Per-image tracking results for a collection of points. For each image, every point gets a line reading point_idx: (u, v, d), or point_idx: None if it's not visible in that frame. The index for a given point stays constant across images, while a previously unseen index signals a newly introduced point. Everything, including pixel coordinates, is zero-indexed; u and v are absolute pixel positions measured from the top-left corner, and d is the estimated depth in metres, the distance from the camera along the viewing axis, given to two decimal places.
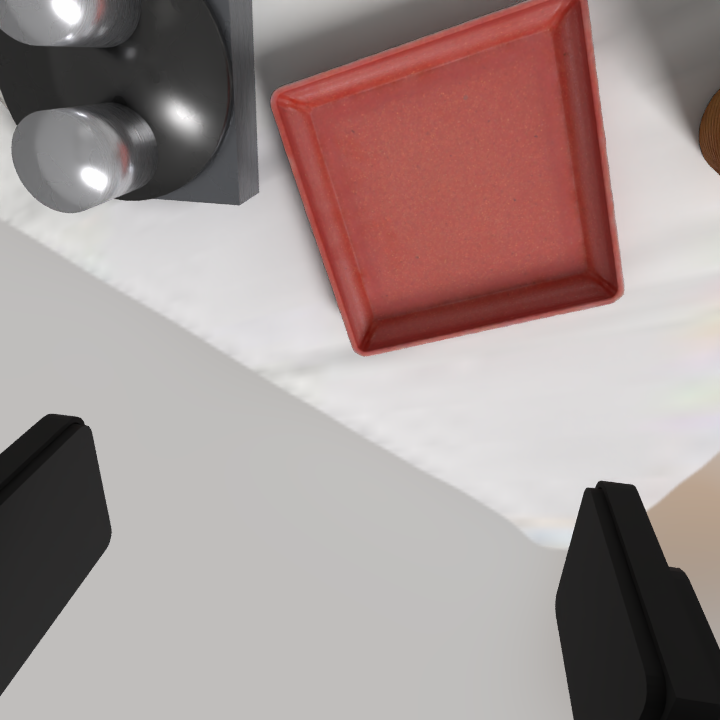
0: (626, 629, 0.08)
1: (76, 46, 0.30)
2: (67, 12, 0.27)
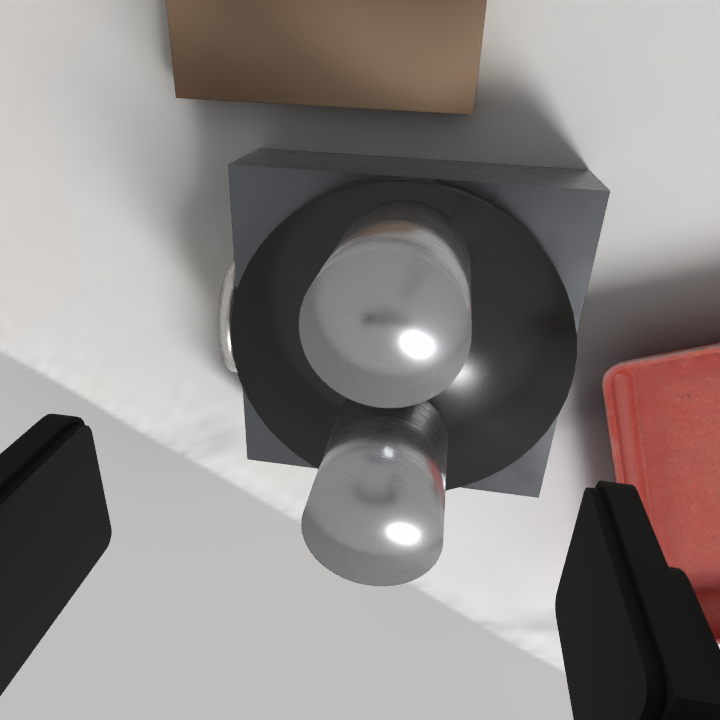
0: (626, 629, 0.08)
1: None
2: (442, 374, 0.17)
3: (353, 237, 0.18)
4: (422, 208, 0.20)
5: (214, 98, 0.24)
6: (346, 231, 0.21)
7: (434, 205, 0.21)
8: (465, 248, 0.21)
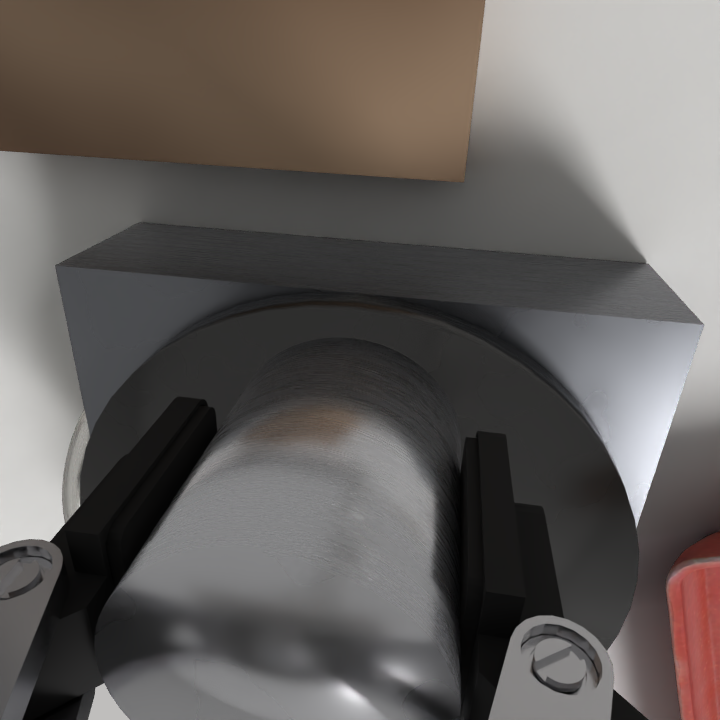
0: (466, 546, 0.09)
1: None
2: None
3: (223, 458, 0.09)
4: (373, 362, 0.11)
5: (49, 151, 0.15)
6: (241, 395, 0.12)
7: (396, 348, 0.12)
8: (450, 431, 0.12)
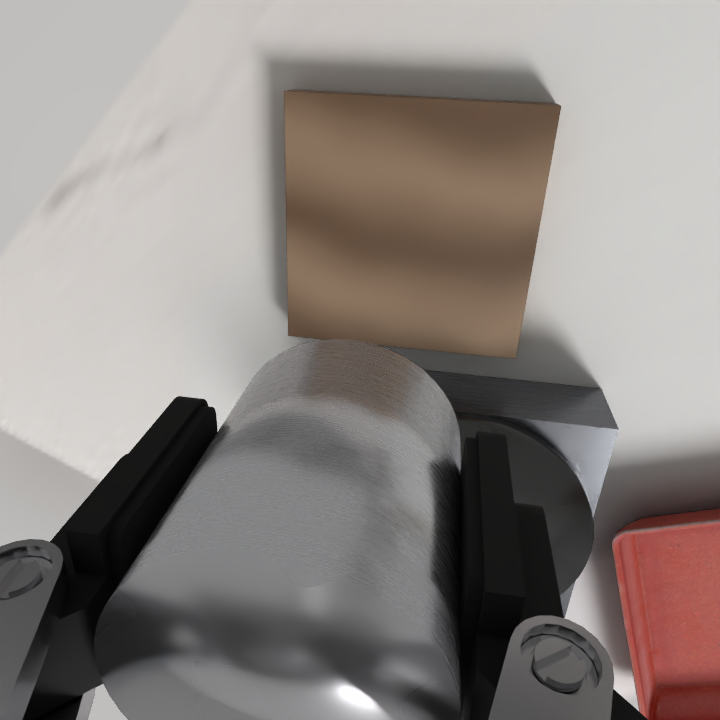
0: (467, 546, 0.09)
1: None
2: None
3: (223, 459, 0.09)
4: (372, 363, 0.11)
5: (318, 337, 0.32)
6: (241, 397, 0.12)
7: None
8: (450, 432, 0.12)
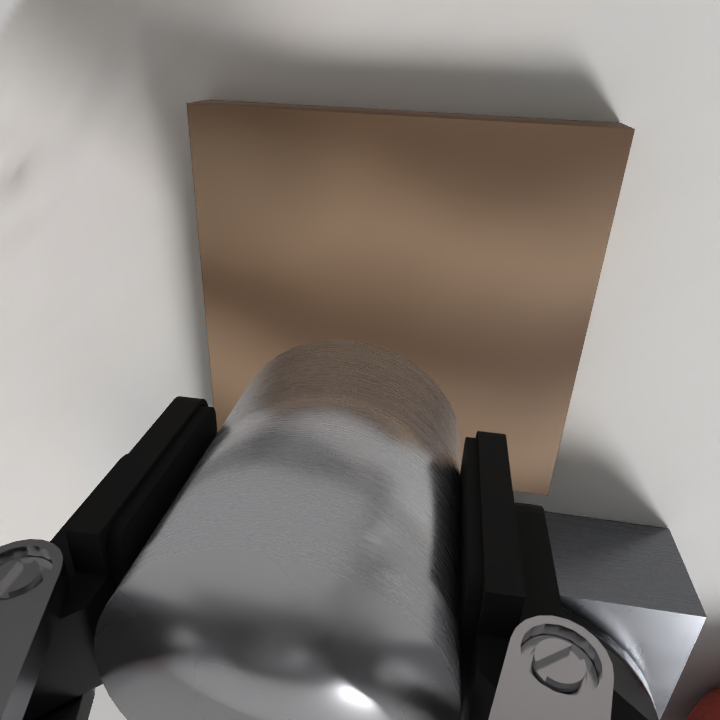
0: (466, 545, 0.09)
1: None
2: None
3: (223, 460, 0.09)
4: (372, 364, 0.11)
5: None
6: (241, 397, 0.12)
7: None
8: (450, 433, 0.12)
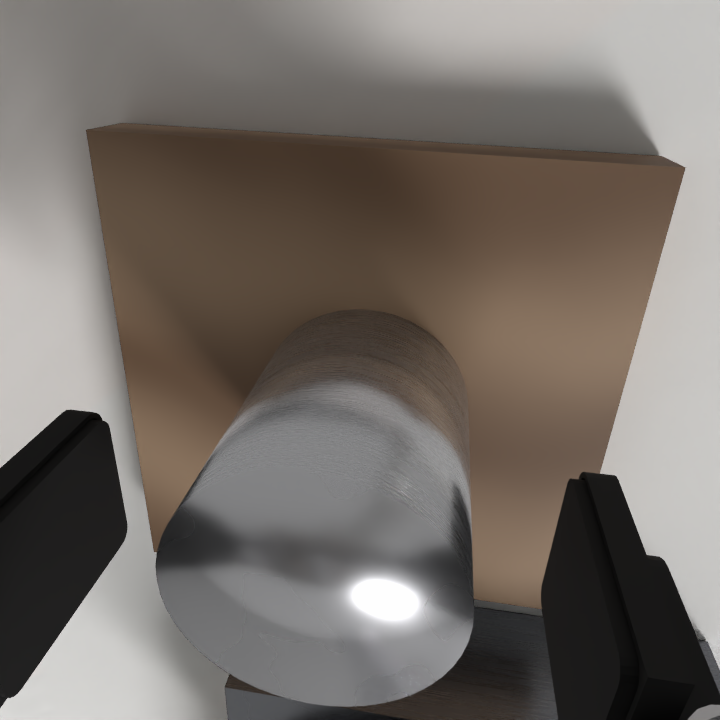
0: (603, 613, 0.08)
1: None
2: (421, 666, 0.10)
3: (262, 405, 0.10)
4: (389, 329, 0.13)
5: None
6: (270, 361, 0.13)
7: None
8: (459, 391, 0.13)
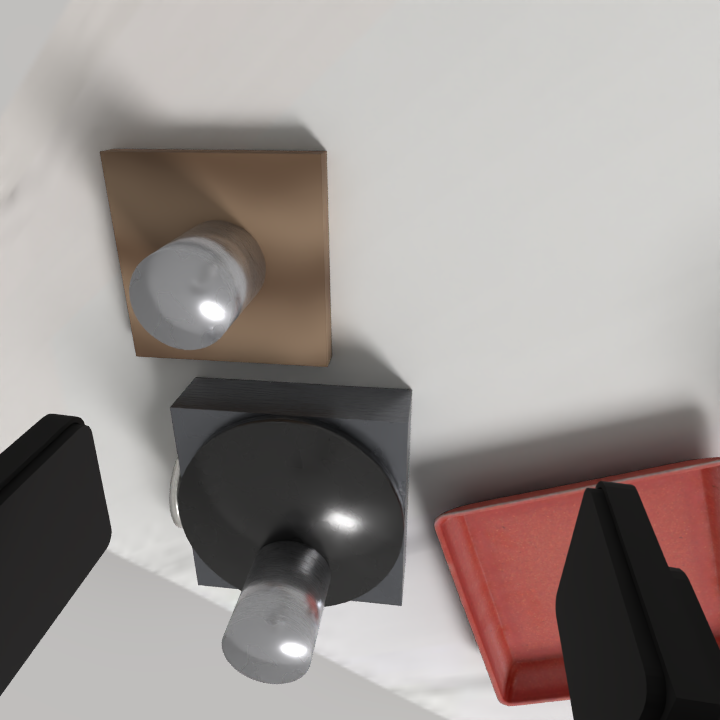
0: (626, 629, 0.08)
1: None
2: (219, 325, 0.28)
3: (166, 244, 0.29)
4: (223, 225, 0.31)
5: (161, 356, 0.36)
6: None
7: (299, 436, 0.33)
8: (253, 249, 0.32)
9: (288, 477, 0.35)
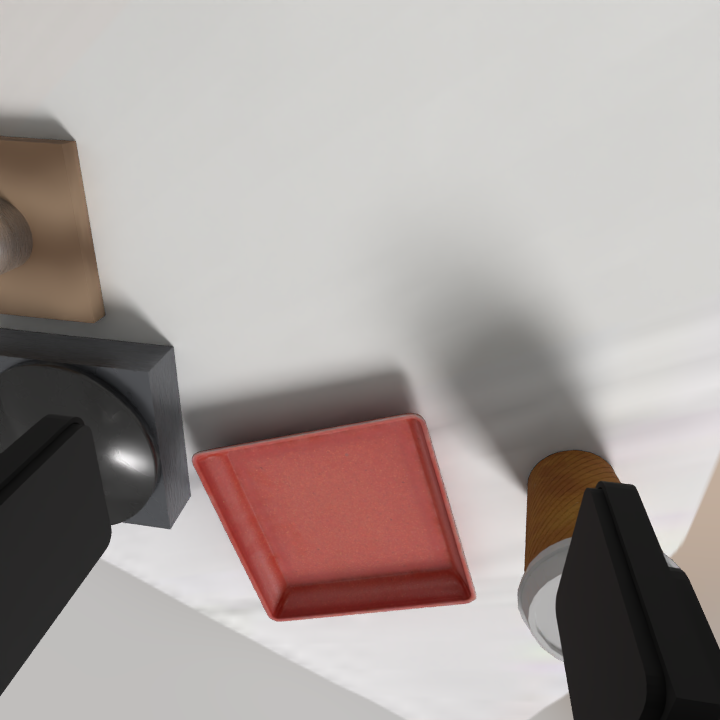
0: (626, 629, 0.08)
1: None
2: None
3: None
4: None
5: None
6: None
7: (58, 379, 0.40)
8: (15, 222, 0.38)
9: (55, 413, 0.42)
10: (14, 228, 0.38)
